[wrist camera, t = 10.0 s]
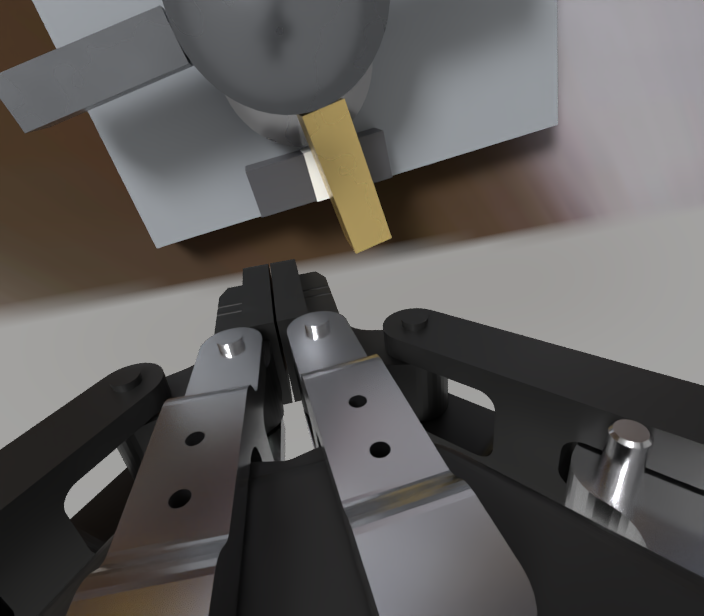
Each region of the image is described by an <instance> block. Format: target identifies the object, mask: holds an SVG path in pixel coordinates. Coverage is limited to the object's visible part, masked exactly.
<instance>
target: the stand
mask: <svg viewBox="0 0 704 616" xmlns="http://www.w3.org/2000/svg"><path fill="white" fill-rule="evenodd" d="M32 1H33V3H34V5H35V7H36V9H37V11H38V13H39V15H40V17H41V19H42V21H43V23H44V25H45V27H46V29H47V31H48V33H49V35H50V37H51V39H52V41H53V43H54V45H55V47H56V49H58V48H60V47H62V46H65V45H67V44H70V43H72V42H74V41H77V40H79V39H81V38H84V37H86V36H88V35H91V34H93V33H96V32H98V31H100V30H103V29H105V28H107V27H110V26H112V25H114V24H117V23H119V22H122V21H124V20H126V19H129V18H131V17H133V16H136V15H138V14H141V13H143V12H145V11H148V10H150V9H152V8H155V7H157V6H159V5H160V6H162V7H163V8H164V5H163V1H162V0H32ZM164 9H165V8H164ZM88 112H89V114H90V116H91V118H92V120H93V122H94V124H95V126H96V128H97V130H98V132H99V134H100V136H101V138H102V140H103V142H104V144H105V146H106V148H107V150H108V152H109V154H110V156H111V158H112V160H113V162H114V164H115V166H116V168H117V170H118V172H119V174H120V176H121V178H122V180H123V182H124V184H125V186H126V188H127V190H128V192H129V194H130V196H131V198H132V200H133V202H134V204H135V206H136V208H137V210H138V212H139V214H140V216H141V218H142V220H143V222H144V224H145V226H146V228H147V230H148V232H149V234H150V236H151V238H152V240H153V242H154V244H155V246H156V248H159V247H163V246H166V245H169V244H172V243H176V242H179V241H182V240H185V239H189V238H192V237H195V236H198V235H202V234H205V233H208V232H211V231H215V230H218V229H221V228H224V227H228V226H231V225H234V224H237V223H241V222H244V221H247V220H250V219H254V218H257V217H260V216H261V217H262V218H263V217H266V216H269V215H272V214H276V213H279V212H282V211H285V210H289V209H292V208H295V207H298V206H301V205H305V204H308V203H311V202H314V201H317V202H319V201H322V200H326V199H329V195H328V193H327V190H326V188H325V185H324V183H323V180H322V178H321V175H320V172H319V170H318V167H317V165H316V162H315V160H314V157H313V155H312V152H311V150H310V147H309V146H288V145H284V144H279V143H276V142H274V141H271V140H269V139H267V138H265V137H263V136H261V135H259V134H258V133H257V132H255V131H254V130H252V129H251V128H250V127H249V126H248V125H247V124H245V123H244V122H243V120H242V119H241V118H240V117H239V116H238V115H237V114H236V112H235V111H234V109H233V108H232V106H231V105H230V103H229V101H228V100H227V98H226V96H225V94H224V93H222V92H221V91H219V90H218V89H217V88H216V87H214V86H213V85H212V84H211V83H210V82H209V81H208V80H207V79H205V77H204V76H203V75H202V74H201V73H200V72H199V71H198V70H197V68H196V67H195V66H192V67H190V68H187V69H185V70H183V71H180V72H178V73H175V74H173V75H171V76H168V77H166V78H164V79H161V80H159V81H157V82H154V83H152V84H150V85H147V86H145V87H143V88H140V89H138V90H136V91H133V92H131V93H129V94H126V95H124V96H122V97H119V98H117V99H115V100H112V101H110V102H107V103H105V104H103V105H100V106H98V107H96V108H93V109H91V110H89V111H88ZM352 122H353V125H354V128H355V131H356V134H357V137H358V140H359V142H360V145H361V148H362V151H363V154H364V157H365V160H366V163H367V166H368V169H369V172H370V175H371V178H372V181H373V183H376V182H379V181H382V180H386V179H389V178H392V176H393V175H396V174H400V173H403V172H406V171H409V170H412V169H416V168H419V167H422V166H425V165H429V164H432V163H435V162H438V161H442V160H445V159H448V158H451V157H455V156H458V155H461V154H464V153H468V152H471V151H474V150H477V149H481V148H484V147H487V146H490V145H494V144H497V143H500V142H503V141H507V140H510V139H513V138H516V137H520V136H523V135H526V134H529V133H532V132H536V131H539V130H542V129H545V128H549V127H552V126H555V125H558V60H557V0H390V5H389V14H388V20H387V24H386V29H385V33H384V36H383V39H382V42H381V44H380V47H379V49H378V51H377V54H376V56H375V58H374V60H373V62H372V76H371V82H370V86H369V90H368V93H367V96H366V99H365V101H364V103H363V105H362V107H361V109H360V111H359V112H358V114H357V115H356V117H355V118H354V119H353V120H352Z"/></svg>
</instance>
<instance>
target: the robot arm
mask: <svg viewBox="0 0 704 616" xmlns="http://www.w3.org/2000/svg"><path fill="white" fill-rule="evenodd" d="M270 266H271V273H270V268H269V265H268V264H265V265H260V266H255V267H249V268H244V269H243V285H242V286H237V287H232V288H228V289H227V290H226V291H225V292H224V293H223V294H222V295H221V296H220V298H219V304H218V312H217V319H216V326H215V334H214V335H213V336H211V337H210V338H208V339H207V340H206V341H205V342H204V343H203V344H202V345H201V347H200V349H199V353H198V356H197V359H196V362H195V365H193V366H191V367H189V368H187V369H184V370H182V371H179V372H177V373H175V374H172V375H169V376H167V377H165V374H164V372H163V369H162V368H161V367H160V366H159V365H156V364H152V363H139V364H134V365H130V366H127V367H124V368H121V369H119V370H117V371H115V372H113V373H111V374H109V375H108V376H107V377H105V378H103V379H102V380H100V381H99V382H97V383H96V384H95V385H93V386H92V387H90V388H89V389H87V390H86V391H85V392H83V393H82V394H80V395H79V396H77V397H76V398H74V399H73V400H72V401H70V402H69V403H67V404H66V405H65V406H63V407H61V408H60V409H59V410H57V411H56V412H54V413H53V414H51V415H50V416H48V417H47V418H45V419H44V420H43V421H41V422H40V423H38V424H37V425H36V426H34V427H32V428H31V429H30V430H28V431H27V432H25V433H24V434H22V435H21V436H19V437H18V438H17V439H15V440H14V441H12V442H11V443H9V444H8V445H6V446H5V447H4V448H2V449H1V450H0V616H704V386H703V385H699V384H696V383H692V382H689V381H685V380H681V379H678V378H674V377H670V376H667V375H663V374H660V373H656V372H652V371H649V370H645V369H642V368H638V367H634V366H631V365H627V364H623V363H620V362H616V361H613V360H609V359H606V358H601V357H598V356H595V355H591V354H587V353H584V352H580V351H577V350H573V349H569V348H566V347H562V346H558V345H555V344H551V343H548V342H544V341H541V340H537V339H533V338H529V337H526V336H523V335H519V334H515V333H512V332H508V331H504V330H501V329H497V328H494V327H490V326H487V325H483V324H479V323H476V322H472V321H468V320H465V319H461V318H458V317H454V316H450V315H447V314H443V313H440V312H436V311H432V310H428V309H421V308H420V309H419V308H414V309H405V310H401V311H398V312H396V313H393V314H392V315H390V316H389V317H387V318H386V320H385V321H384V323H383V330H360V329H355V328H353V327H350V325H349V323H348V321H347V320H346V318H345V317H344V316H343V315H341V314H339V312H338V309H337V307H336V304H335V301H334V299H333V296H332V294H331V291H330V288H329V286H328V283H327V280H326V278H325V277H324V276H322V275H321V274H319V273H317V272H310V273H305V274H300V275H299V274H298V270H297V266H296V262H295V259H292V260H287V261H281V262H276V263H271V264H270ZM271 275H272V277H271ZM289 377H290V380H289ZM448 379H451V380H454V381H456V382H459V383H462V384H464V385H467V386H470V387H472V388H475V389H477V390H480V391H482V392H483V393H485V394H486V395H487V396H488V397H489V398H490V399H491V401H492V402H493V404H494V407H495V411H492V410H490V409H487V408H484V407H482V406H479V405H477V404H474V403H472V402H469V401H467V400H464V399H462V398H459V397H457V396H454V395H452V394H449V393H448ZM290 381H291V386H292V390H293V394H294V399H295V402H296V401H301V400H302V404H303V407H304V413H305V417H306V422H307V426H308V430H309V433H310V437H311V440H312V444H313V447H314V449H313V450H311V451H309V452H307V453H305V454H302V455H300V456H298V457H296V458H294V459H291V460H287V461H285V426H284V422H283V415H284V410H283V404H288V403H292V395H291V388H290ZM116 448H117V449H118V450H119V452H120V454H121V456H122V458H123V460H124V462H125V464H126V466H127V468H126V469H125V470H124V471H123V472H122V473H121V474H120V475H118V476H117V477H116V478H115V479H114V480H113V481H112V482H111V483H110V484H108V485H107V486H106V487H105V488H104V489H103V490H102V491H101V492H100V493H99V494H97V495H96V496H95V497H94V498H93V499H92V500H91V501H90V502H89V503H88V504H87V505H85V506H84V507H83V508H82V509H81V510H80V511H79V512H78V513H77V514H76V515H74V516H73V517H72V518H71V519H69V517H68V516H67V514H66V513H65V510H64V501H65V498H66V495H67V493H68V492H69V490H70V489H71V487H72V486H73V485H74V484H75V483H76V482H77V481H78V480H80V478H82V477H83V476H84V475H85V474H86V473H88V471H90V470H91V469H92V468H94V467H95V466H96V465H97V464H98V463H99V462H101V461H102V460H103V459H104V458H105V457H107V456H108V455H109V454H110V453H111V452H112V451H113V450H115V449H116Z"/></svg>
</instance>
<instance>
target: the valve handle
mask: <svg viewBox="0 0 704 616" xmlns="http://www.w3.org/2000/svg"><path fill="white" fill-rule="evenodd" d="M162 1H163V5H164V8H165V9H164V8H163V7H162V6H160V5H159V6H157V7H155V8H152V9H150V10H148V11H145V12H143V13H141V14H138V15H136V16H133V17H131V18H129V19H126V20H124V21H122V22H119V23H117V24H114V25H112V26H110V27H107V28H105V29H103V30H100V31H98V32H96V33H93V34H91V35H88V36H86V37H84V38H81V39H79V40H77V41H74V42H72V43H70V44H67V45H65V46H62V47H60V48H58V49H55V50H53V51H51V52H48V53H46V54H44V55H41V56H39V57H36V58H34V59H32V60H29V61H27V62H25V63H22V64H20V65H17V66H15V67H13V68H10V69H8V70H6V71H3V72H1V73H0V99H1V100H2V101H3V103H4V104H5V106H6V107H7V108H8V110H9V111H10V113H11V114H12V115H13V117H14V118H15V120H16V121H17V122H18V124H19V125H20V127H21V128H22V129H23V131H24V132H25V133H28V132H32V131H36V130H40V129H44V128H48V127H51V126H54V125H56V124H58V123H61V122H63V121H65V120H68V119H70V118H72V117H75V116H77V115H79V114H82V113H84V112H86V111H89V110H91V109H93V108H96V107H98V106H100V105H103V104H105V103H107V102H110V101H112V100H115V99H117V98H119V97H122V96H124V95H126V94H129V93H131V92H133V91H136V90H138V89H140V88H143V87H145V86H147V85H150V84H152V83H154V82H157V81H159V80H161V79H164V78H166V77H168V76H171V75H173V74H175V73H178V72H180V71H183V70H185V69H187V68H190V67H192V66H195V67H196V68H197V70H198V71H199V72H200V73H201V74H202V75H203V76H204V77H205V79H207V80H208V81H209V82H210V83H211V84H212V85H213V86H214V87H216V88H217V89H218V90H219V91H221V92H222V93H224V94H225V96H226V98H227V100H228V101H229V103H230V105H231V106H232V108H233V109H234V111H235V112H236V114H237V115H238V116H239V117H240V118H241V119H242V120H243V122H244V123H245V124H247V125H248V126H249V127H250V128H251V129H252V130H254V131H255V132H257V133H258V134H259V135H261V136H263V137H265V138H267V139H269V140H271V141H274V142H276V143H279V144H284V145H288V146H309V147H310V150H311V152H312V155H313V157H314V160H315V162H316V165H317V167H318V170H319V172H320V175H321V178H322V180H323V183H324V185H325V188H326V190H327V193H328V195H329V198H330V200H331V203H332V205H333V208H334V210H335V213H336V215H337V218H338V220H339V223H340V225H341V228H342V230H343V233H344V235H345V238H346V240H347V241H348V243H349V244H350V246H351V247H352V249H353V250H354V252H355V253H356V254H357V253H359V252H361V251H363V250H366V249H368V248H370V247H372V246H375V245H377V244H379V243H381V242H384V241H386V240H388V239H391V238H392V237H391V234H390V231H389V228H388V225H387V222H386V219H385V216H384V213H383V210H382V207H381V205H380V202H379V199H378V196H377V193H376V190H375V187H374V184H373V181H372V178H371V175H370V172H369V169H368V166H367V163H366V160H365V157H364V154H363V151H362V148H361V145H360V142H359V140H358V137H357V134H356V131H355V128H354V125H353V122H352V120H353V119H354V118H355V117H356V115H357V114H358V112H359V111H360V109H361V107H362V105H363V103H364V101H365V99H366V96H367V93H368V90H369V86H370V82H371V76H372V62H373V60H374V58H375V56H376V54H377V51H378V49H379V47H380V44H381V42H382V39H383V36H384V33H385V29H386V24H387V20H388V14H389V5H390V0H162Z"/></svg>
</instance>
